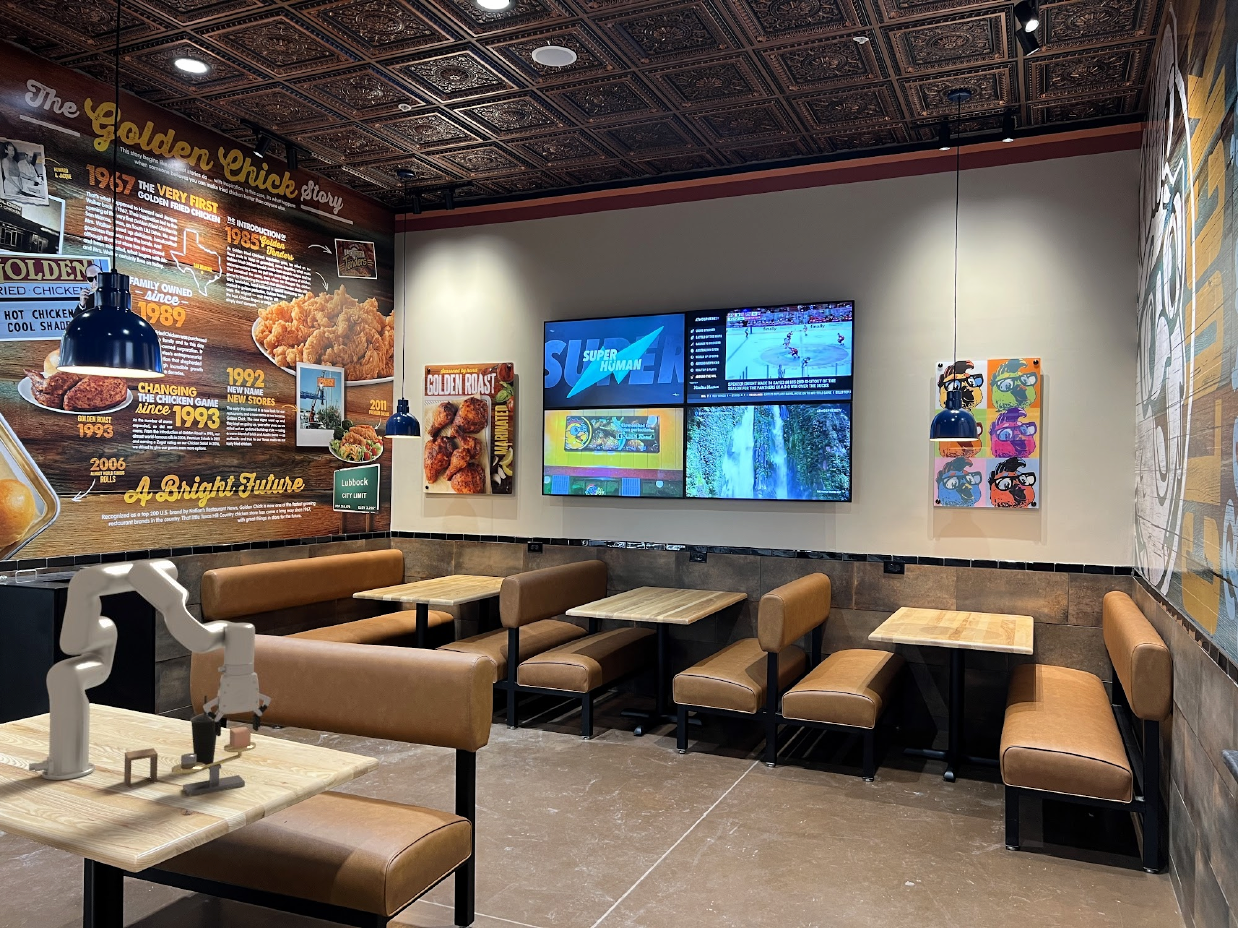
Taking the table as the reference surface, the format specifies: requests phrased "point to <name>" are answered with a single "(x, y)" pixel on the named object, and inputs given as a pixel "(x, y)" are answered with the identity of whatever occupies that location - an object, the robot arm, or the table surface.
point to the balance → (214, 781)
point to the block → (240, 737)
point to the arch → (140, 755)
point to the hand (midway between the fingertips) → (236, 732)
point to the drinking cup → (203, 737)
